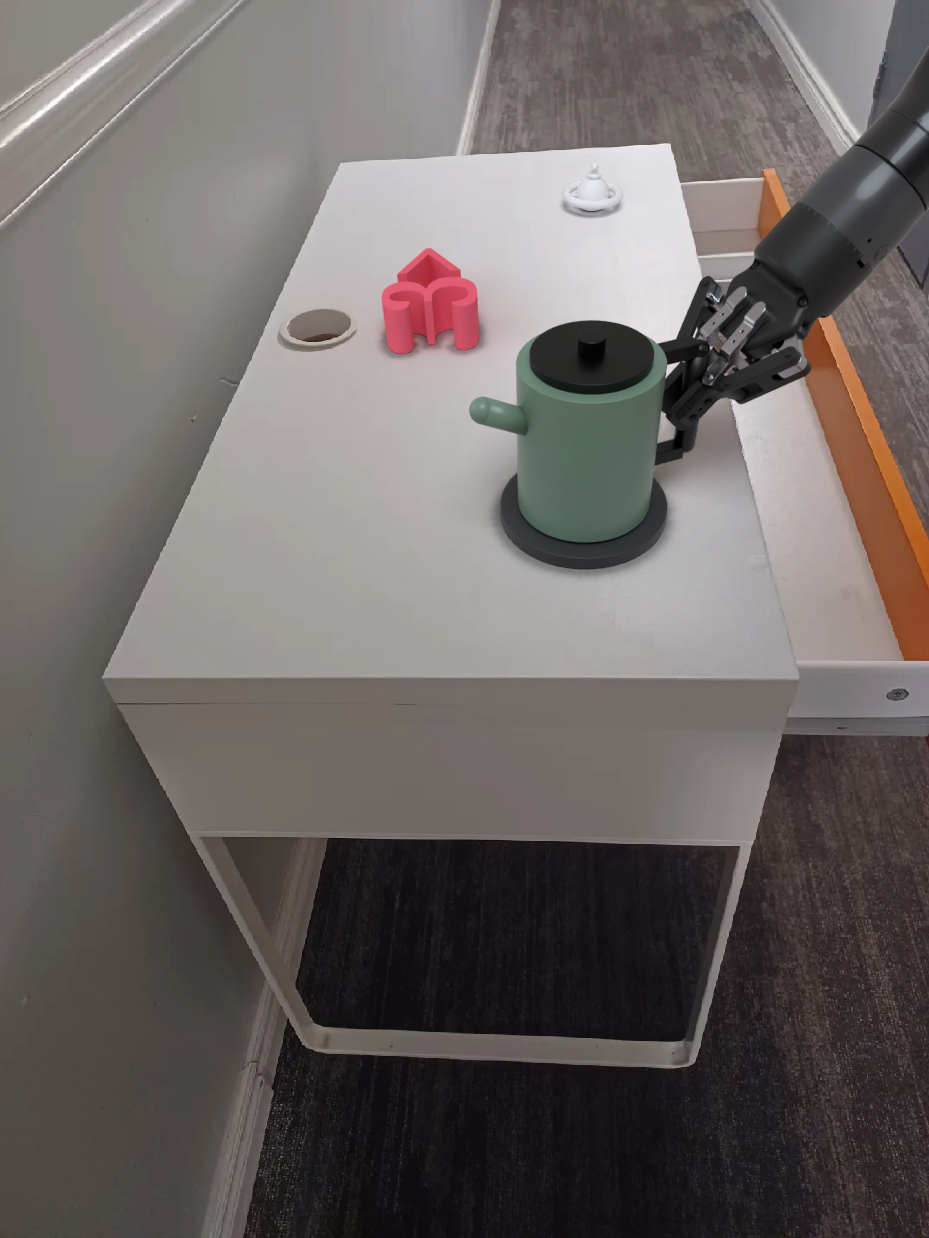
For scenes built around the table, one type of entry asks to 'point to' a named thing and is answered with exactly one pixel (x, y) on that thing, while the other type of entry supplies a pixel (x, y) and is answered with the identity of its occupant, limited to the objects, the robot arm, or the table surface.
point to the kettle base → (581, 552)
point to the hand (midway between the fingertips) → (666, 415)
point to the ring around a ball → (592, 192)
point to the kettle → (592, 425)
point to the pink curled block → (430, 304)
